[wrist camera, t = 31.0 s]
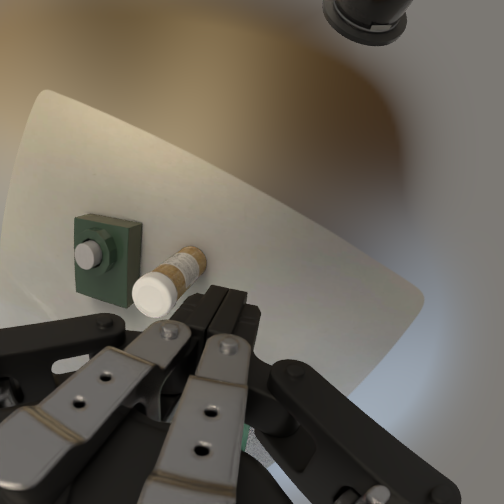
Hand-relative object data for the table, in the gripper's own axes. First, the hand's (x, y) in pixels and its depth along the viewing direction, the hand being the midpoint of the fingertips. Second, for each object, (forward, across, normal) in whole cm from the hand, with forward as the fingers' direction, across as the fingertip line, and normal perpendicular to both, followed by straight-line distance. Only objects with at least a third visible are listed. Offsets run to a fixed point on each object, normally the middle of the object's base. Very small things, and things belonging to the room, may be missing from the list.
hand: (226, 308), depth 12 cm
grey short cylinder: (+21, +23, +8) cm, 32 cm away
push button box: (+27, +23, +10) cm, 37 cm away
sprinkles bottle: (+27, +10, +8) cm, 30 cm away
